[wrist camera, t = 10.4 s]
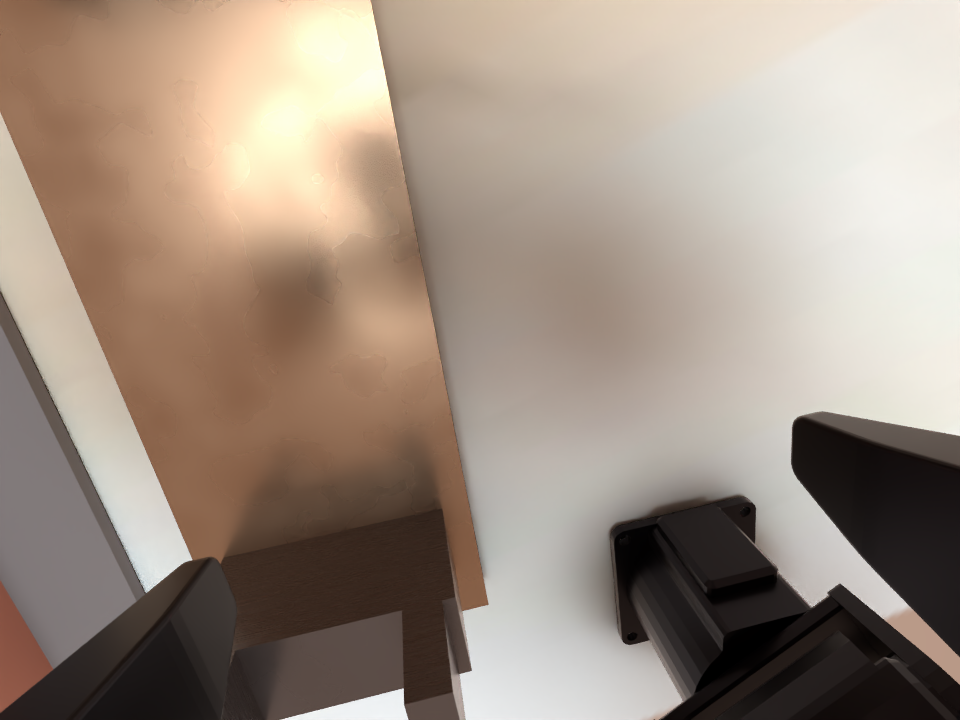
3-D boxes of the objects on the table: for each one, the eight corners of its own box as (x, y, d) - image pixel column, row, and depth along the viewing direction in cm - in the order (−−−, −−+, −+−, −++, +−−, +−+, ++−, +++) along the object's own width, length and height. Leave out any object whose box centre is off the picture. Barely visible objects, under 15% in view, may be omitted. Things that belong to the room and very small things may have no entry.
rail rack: (482, 578, 24) (533, 806, 15) (247, 634, 23) (162, 910, 14) (311, -296, 14) (185, -1033, 5) (-118, -257, 13) (-1098, -1074, 4)
